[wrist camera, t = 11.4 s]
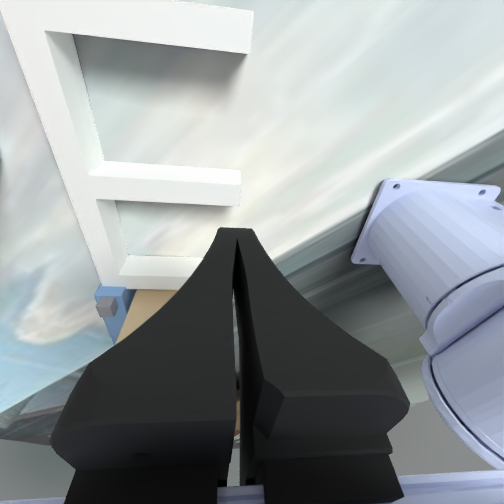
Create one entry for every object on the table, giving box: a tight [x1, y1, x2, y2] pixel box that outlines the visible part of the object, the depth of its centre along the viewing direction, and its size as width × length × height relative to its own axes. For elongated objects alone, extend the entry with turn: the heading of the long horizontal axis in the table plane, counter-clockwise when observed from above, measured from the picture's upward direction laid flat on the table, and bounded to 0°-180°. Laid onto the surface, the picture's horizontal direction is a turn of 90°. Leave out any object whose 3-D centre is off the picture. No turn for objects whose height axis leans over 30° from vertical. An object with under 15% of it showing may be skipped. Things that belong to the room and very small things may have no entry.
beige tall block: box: [115, 289, 178, 345], centre depth 21 cm, size 4×4×9 cm
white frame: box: [0, 0, 254, 345], centre depth 19 cm, size 11×26×4 cm, turn 175°
